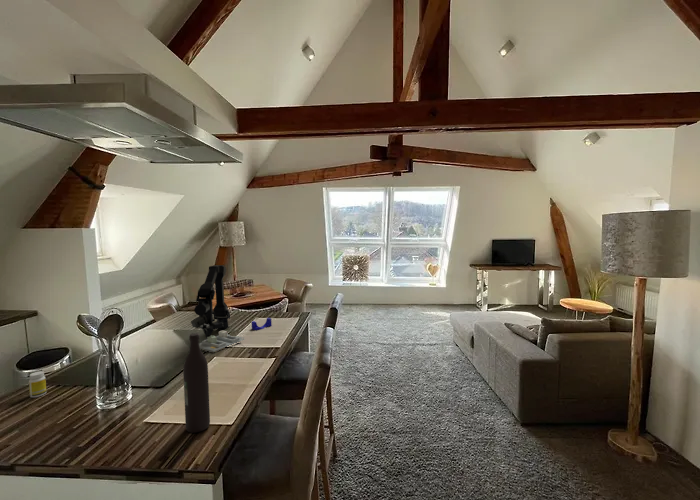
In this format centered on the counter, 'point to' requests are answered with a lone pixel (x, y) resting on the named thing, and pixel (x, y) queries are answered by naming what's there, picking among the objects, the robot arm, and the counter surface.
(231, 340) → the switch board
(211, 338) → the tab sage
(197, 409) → the wine bottle
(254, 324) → the blue u-shaped bracket
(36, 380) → the supplement bottle
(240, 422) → the counter surface
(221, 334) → the tab ivory
